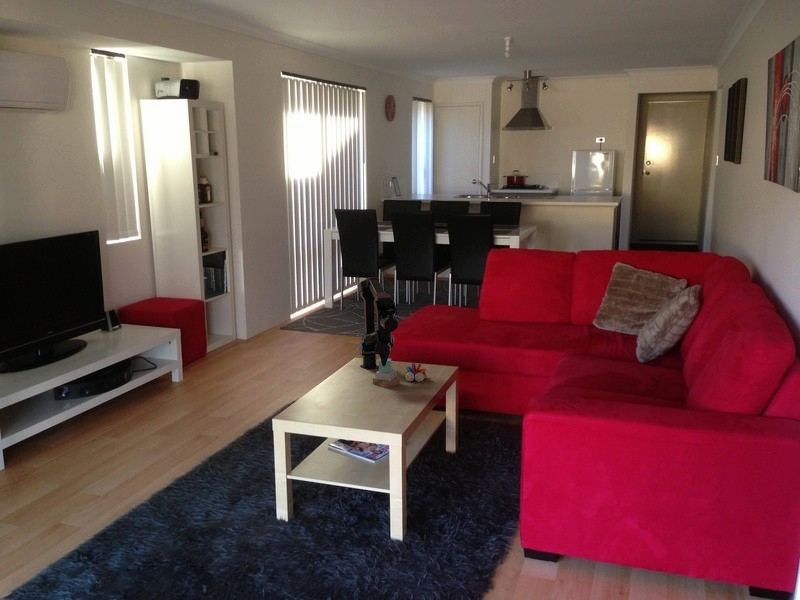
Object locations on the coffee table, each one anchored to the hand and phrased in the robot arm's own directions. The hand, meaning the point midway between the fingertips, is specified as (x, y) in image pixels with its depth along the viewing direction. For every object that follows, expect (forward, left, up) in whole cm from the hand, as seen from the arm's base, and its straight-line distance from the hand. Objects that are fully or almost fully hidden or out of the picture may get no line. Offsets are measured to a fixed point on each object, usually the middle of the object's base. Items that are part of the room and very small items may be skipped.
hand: (385, 363), depth 293 cm
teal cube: (0, 0, -3) cm, 3 cm away
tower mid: (0, 0, -6) cm, 6 cm away
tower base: (0, 0, -9) cm, 9 cm away
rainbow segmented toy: (+3, +14, -9) cm, 17 cm away
